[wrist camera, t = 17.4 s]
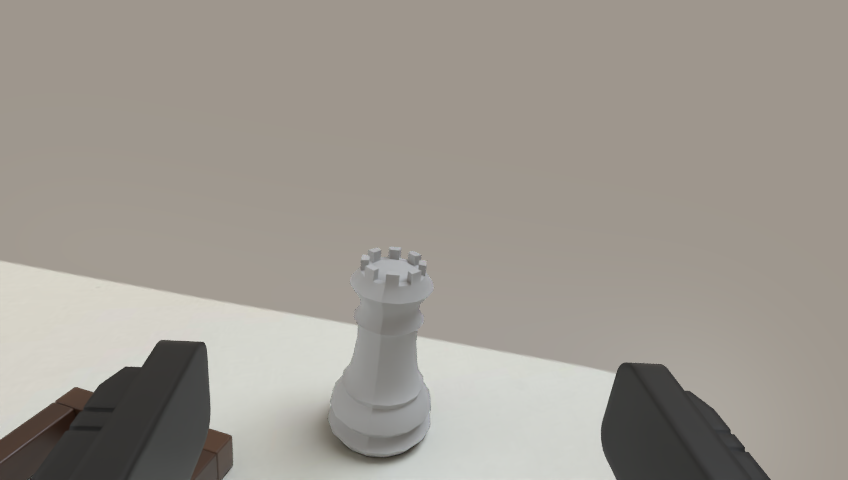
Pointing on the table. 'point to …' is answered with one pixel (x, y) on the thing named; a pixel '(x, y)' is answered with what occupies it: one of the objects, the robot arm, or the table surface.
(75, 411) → the holder collar
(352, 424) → the rook chess piece
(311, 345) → the table surface
